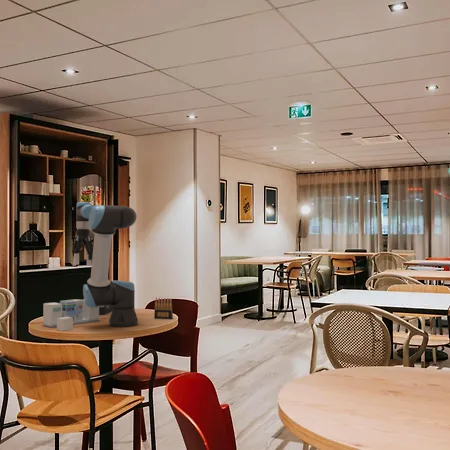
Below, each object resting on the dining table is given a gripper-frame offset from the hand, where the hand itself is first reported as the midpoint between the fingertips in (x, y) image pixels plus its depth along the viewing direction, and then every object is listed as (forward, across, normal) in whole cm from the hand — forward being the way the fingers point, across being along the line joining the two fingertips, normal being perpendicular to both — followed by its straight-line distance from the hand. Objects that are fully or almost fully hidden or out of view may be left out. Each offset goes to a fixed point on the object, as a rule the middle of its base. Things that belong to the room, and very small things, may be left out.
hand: (82, 265), depth 299 cm
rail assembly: (+30, -14, +15) cm, 36 cm away
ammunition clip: (+30, -39, -28) cm, 57 cm away
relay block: (+30, -29, +27) cm, 50 cm away
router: (+31, +6, -17) cm, 36 cm away
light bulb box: (+29, -14, +15) cm, 35 cm away
